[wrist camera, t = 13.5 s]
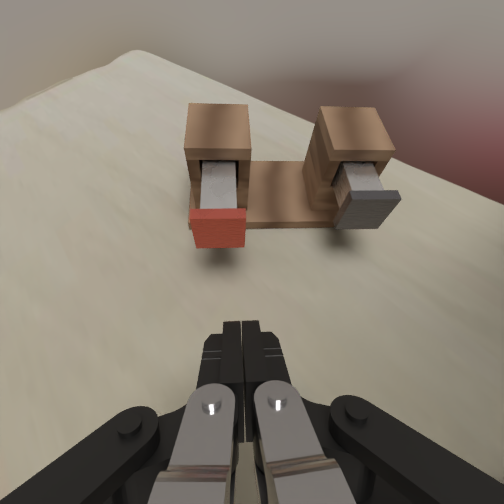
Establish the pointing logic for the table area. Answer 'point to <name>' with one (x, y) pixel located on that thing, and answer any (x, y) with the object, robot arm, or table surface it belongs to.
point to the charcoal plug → (361, 196)
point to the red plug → (218, 208)
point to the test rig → (284, 162)
